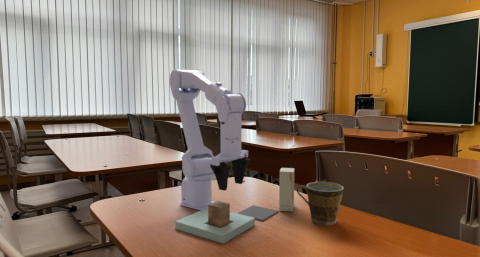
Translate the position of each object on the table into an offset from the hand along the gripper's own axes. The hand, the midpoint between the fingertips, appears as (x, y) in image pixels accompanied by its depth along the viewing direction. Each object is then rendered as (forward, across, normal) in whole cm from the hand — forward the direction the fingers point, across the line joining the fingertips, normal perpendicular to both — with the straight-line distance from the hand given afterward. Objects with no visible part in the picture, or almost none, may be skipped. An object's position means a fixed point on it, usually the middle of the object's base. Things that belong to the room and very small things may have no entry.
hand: (231, 186), depth 95 cm
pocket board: (+10, -6, +1) cm, 11 cm away
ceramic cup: (+10, +14, -20) cm, 27 cm away
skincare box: (+10, +18, -8) cm, 22 cm away
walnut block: (+10, -7, -1) cm, 12 cm away
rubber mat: (+10, +9, -3) cm, 14 cm away
